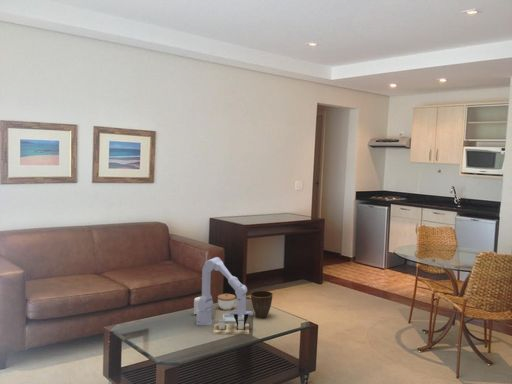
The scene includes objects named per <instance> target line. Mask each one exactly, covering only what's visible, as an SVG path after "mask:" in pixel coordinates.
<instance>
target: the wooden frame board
mask: <svg viewBox="0 0 512 384" xmlns="http://www.w3.org/2000/svg"><path fill="white" fill-rule="evenodd" d="M237 328H238V327H237V324H225V330H219V323H214V325H213V331H212V334H213V335H250V324H249V323H245V327H244V330H238V329H237Z"/></svg>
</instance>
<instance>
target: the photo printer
mask: <svg viewBox="0 0 512 384" xmlns="http://www.w3.org/2000/svg"><path fill="white" fill-rule="evenodd" d="M200 298H201V296H198V297H195V298H194V299H193V300H194V301H193V315H194V314H197V310H199V308H198V303H199V299H200Z"/></svg>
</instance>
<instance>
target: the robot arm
mask: <svg viewBox="0 0 512 384" xmlns="http://www.w3.org/2000/svg"><path fill="white" fill-rule="evenodd" d="M201 271H202V272H201V275H202V276H201V296H200V297H201V298H200V299H199V303H198V308H199V310H197V315H196V320H195V321H196V326H203V325H204V326H206V325H207V326H209V325H210V326H211V325H212V324H213V323H212V322H213V320H212V307H213V306H214V301H213V296H212V295H211V277H212V274H211V273H212V271H217V272H220V273H221V274H222V275H223V276H224V277H225V278H226V279H227V282H228V284H229V286H231V288H232V289H233V290H234V293H235V294H234V295H235V296H236V310H233V311H231V310H229V313H228V314H229V315H234V318H235V320H236V323H237V327H236V328H238V315H244V328H245V324H247V323H246V322H247V320H248V318H249V316H254V315H253V313H254V310H253V311H251V310H247V309H246V308H247V292H248V287H247V285H245V284H243V283H241V282H240V280H239V278H238V277H236V276H234V275H232V273H231V272H230V271H229V269H228V268H227V267H226V265H225V264H224V261H222V259H221V257H218V256H215V257H213V258H211V259H208V260H206V261H204V265H203V267H202V269H201Z"/></svg>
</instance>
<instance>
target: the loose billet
mask: <svg viewBox="0 0 512 384" xmlns="http://www.w3.org/2000/svg"><path fill="white" fill-rule="evenodd" d="M237 330H245V327H244V318H238V327H237Z"/></svg>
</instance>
